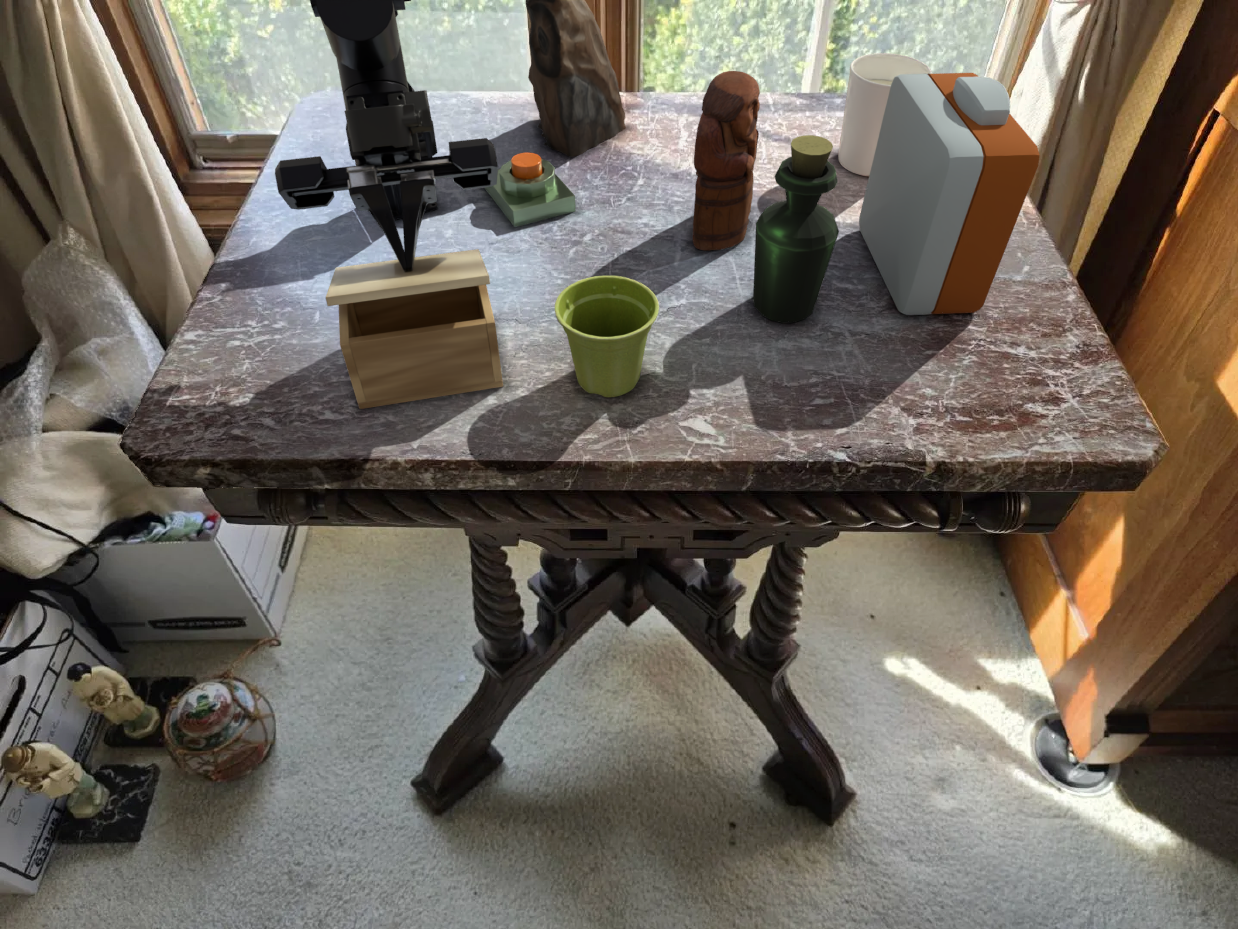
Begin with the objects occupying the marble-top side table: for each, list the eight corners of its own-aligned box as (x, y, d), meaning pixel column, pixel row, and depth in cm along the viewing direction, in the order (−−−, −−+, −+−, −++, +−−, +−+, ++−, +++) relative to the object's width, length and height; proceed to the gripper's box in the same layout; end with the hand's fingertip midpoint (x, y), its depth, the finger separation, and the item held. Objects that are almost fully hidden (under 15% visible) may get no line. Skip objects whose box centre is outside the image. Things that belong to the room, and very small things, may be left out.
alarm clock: (981, 318, 89) (1056, 129, 74) (900, 321, 89) (958, 132, 74) (926, 223, 102) (981, 45, 87) (854, 225, 101) (897, 47, 86)
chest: (503, 386, 82) (495, 322, 76) (359, 409, 80) (339, 344, 74) (488, 320, 89) (479, 256, 83) (355, 339, 87) (337, 275, 81)
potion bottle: (805, 278, 94) (836, 120, 81) (833, 323, 89) (871, 161, 75) (735, 288, 93) (755, 128, 80) (759, 333, 87) (785, 171, 74)
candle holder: (917, 156, 113) (943, 63, 104) (891, 187, 107) (916, 93, 99) (848, 137, 117) (867, 46, 108) (820, 167, 111) (837, 73, 102)
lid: (490, 284, 73) (488, 274, 72) (327, 306, 71) (325, 297, 70) (479, 257, 83) (478, 248, 83) (337, 275, 81) (335, 267, 80)
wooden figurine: (738, 259, 97) (757, 102, 83) (683, 250, 98) (694, 94, 85) (756, 206, 104) (776, 55, 91) (705, 199, 105) (718, 48, 92)
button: (507, 169, 103) (506, 156, 102) (535, 163, 104) (534, 149, 103) (519, 183, 101) (517, 169, 100) (546, 176, 102) (546, 162, 101)
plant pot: (585, 423, 78) (582, 350, 72) (543, 364, 84) (538, 291, 78) (673, 391, 81) (678, 319, 75) (627, 336, 87) (628, 264, 81)
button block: (484, 189, 107) (481, 159, 104) (543, 174, 109) (541, 145, 106) (514, 227, 101) (511, 197, 98) (575, 211, 103) (574, 181, 100)
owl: (570, 163, 111) (564, -1, 97) (501, 135, 117) (485, -25, 102) (630, 128, 118) (632, -30, 103) (562, 103, 123) (554, -52, 109)
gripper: (242, 64, 66) (279, 265, 66) (482, 42, 69) (515, 235, 69) (275, 118, 77) (307, 290, 77) (481, 97, 80) (509, 263, 80)
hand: (408, 270), depth 76 cm, fingers closed, pressing on lid
